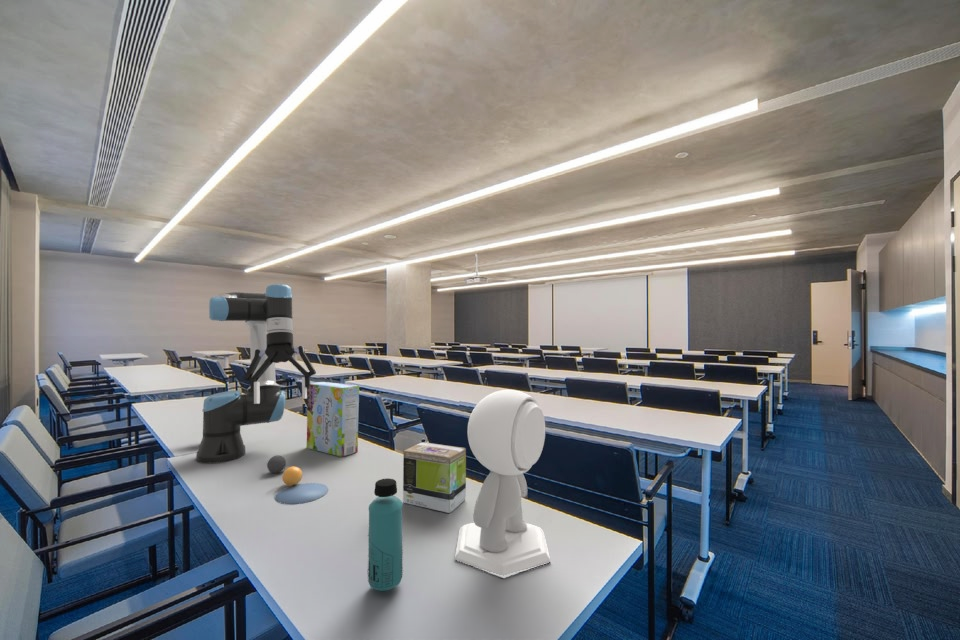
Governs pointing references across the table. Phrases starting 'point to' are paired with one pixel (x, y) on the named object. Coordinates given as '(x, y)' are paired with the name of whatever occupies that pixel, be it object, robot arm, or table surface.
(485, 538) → the white cartoon figure
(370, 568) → the beverage bottle
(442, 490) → the tea box
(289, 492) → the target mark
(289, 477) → the object ball
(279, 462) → the dark gray ball
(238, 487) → the table surface
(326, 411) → the snack box
